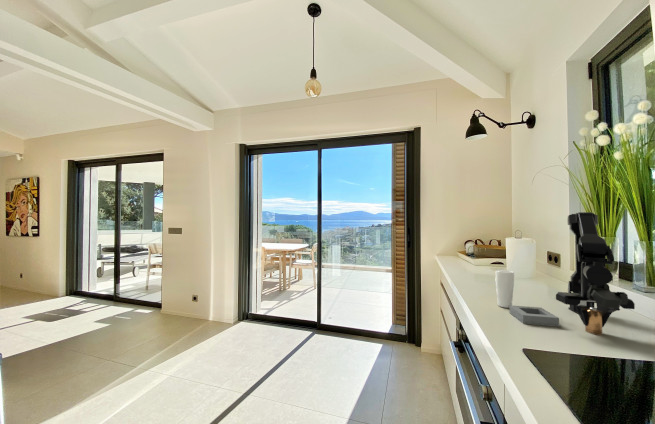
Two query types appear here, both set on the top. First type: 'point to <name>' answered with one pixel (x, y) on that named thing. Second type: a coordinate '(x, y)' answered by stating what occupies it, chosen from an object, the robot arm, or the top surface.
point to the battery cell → (594, 321)
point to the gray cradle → (534, 316)
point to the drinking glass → (504, 287)
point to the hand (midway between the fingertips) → (593, 326)
